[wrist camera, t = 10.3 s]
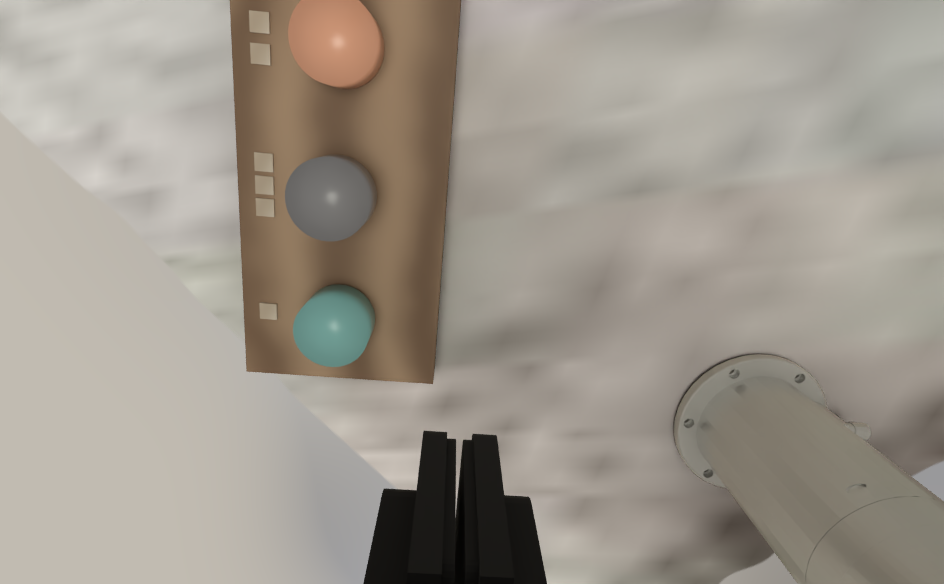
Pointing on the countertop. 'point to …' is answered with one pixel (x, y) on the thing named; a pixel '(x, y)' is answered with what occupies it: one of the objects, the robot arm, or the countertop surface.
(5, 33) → the countertop surface
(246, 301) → the button panel
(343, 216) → the button charcoal three
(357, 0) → the button terracotta two
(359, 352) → the button teal one
